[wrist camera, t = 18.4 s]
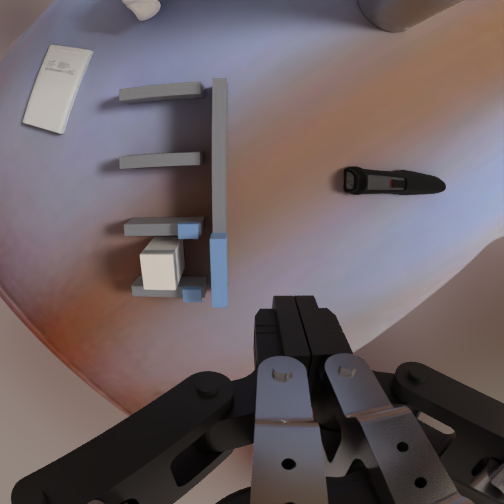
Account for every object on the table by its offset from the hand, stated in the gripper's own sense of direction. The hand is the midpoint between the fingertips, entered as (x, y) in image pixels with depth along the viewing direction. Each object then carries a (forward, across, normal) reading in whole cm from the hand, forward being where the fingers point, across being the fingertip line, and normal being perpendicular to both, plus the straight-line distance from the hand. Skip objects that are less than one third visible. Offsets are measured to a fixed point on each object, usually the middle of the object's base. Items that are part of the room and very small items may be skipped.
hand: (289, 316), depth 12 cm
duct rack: (+30, +10, +1) cm, 31 cm away
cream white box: (+30, +12, +9) cm, 33 cm away
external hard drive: (+31, +29, -16) cm, 45 cm away
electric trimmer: (+31, -19, -2) cm, 36 cm away
